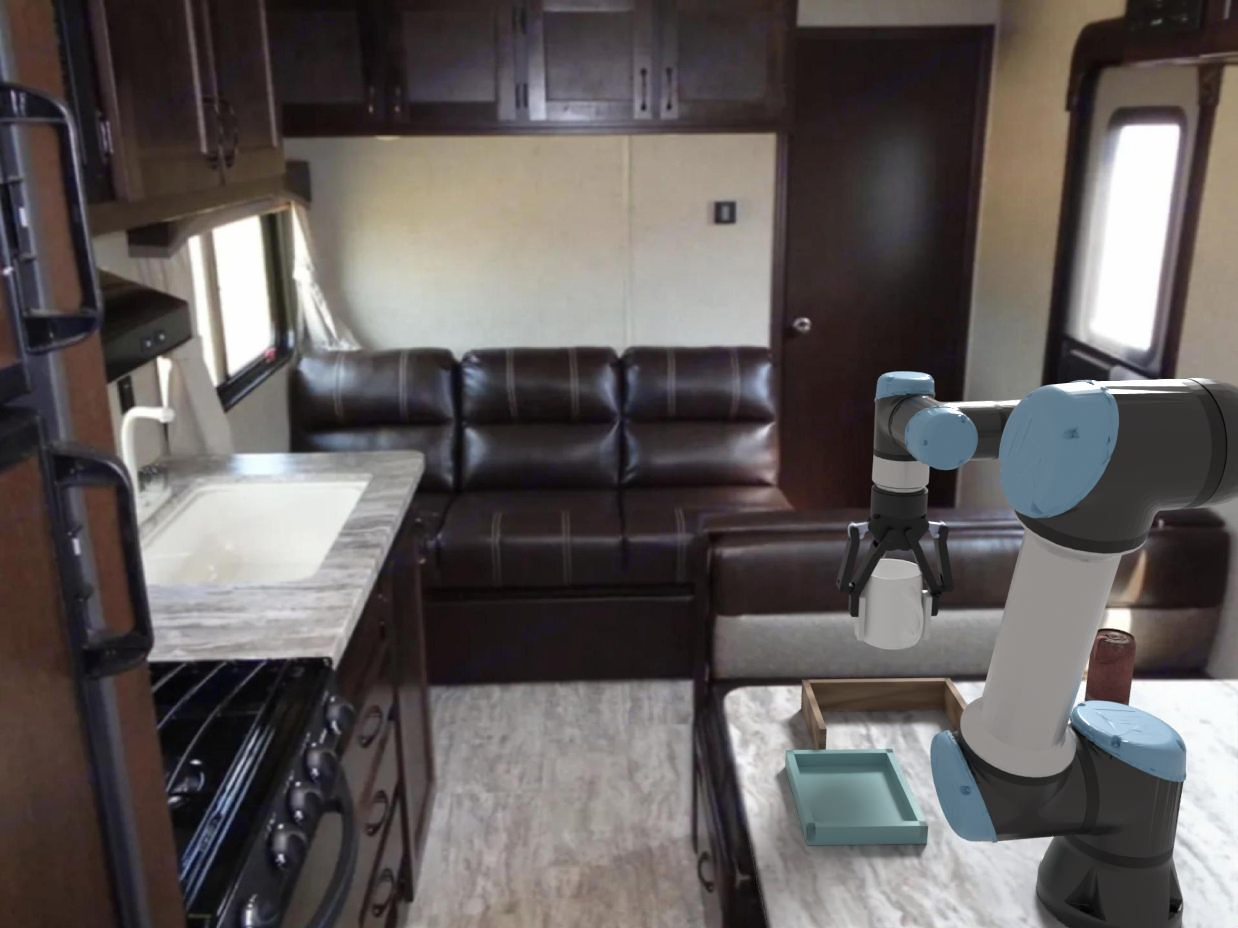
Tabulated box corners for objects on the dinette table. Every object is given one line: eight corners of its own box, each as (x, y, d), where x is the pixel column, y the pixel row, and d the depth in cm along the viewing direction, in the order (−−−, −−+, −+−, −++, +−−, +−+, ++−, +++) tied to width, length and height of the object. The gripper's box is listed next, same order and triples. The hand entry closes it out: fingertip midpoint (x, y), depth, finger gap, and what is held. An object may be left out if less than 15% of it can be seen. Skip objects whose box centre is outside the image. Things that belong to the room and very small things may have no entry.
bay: (979, 758, 148) (981, 726, 147) (818, 760, 148) (819, 728, 147) (947, 706, 163) (949, 677, 161) (801, 708, 163) (802, 679, 162)
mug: (892, 664, 142) (896, 591, 139) (847, 631, 153) (849, 563, 150) (946, 655, 144) (950, 582, 141) (897, 622, 155) (901, 555, 153)
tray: (927, 843, 130) (928, 825, 129) (807, 845, 130) (807, 826, 129) (890, 764, 147) (891, 748, 146) (785, 766, 147) (785, 750, 146)
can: (1072, 714, 160) (1082, 631, 156) (1102, 705, 162) (1112, 623, 158) (1105, 733, 154) (1115, 647, 151) (1135, 723, 157) (1146, 638, 153)
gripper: (969, 476, 146) (958, 625, 152) (817, 478, 146) (812, 626, 152) (986, 491, 139) (975, 646, 144) (826, 493, 139) (821, 648, 145)
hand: (891, 636), depth 148 cm, fingers closed on mug, 9 cm apart
